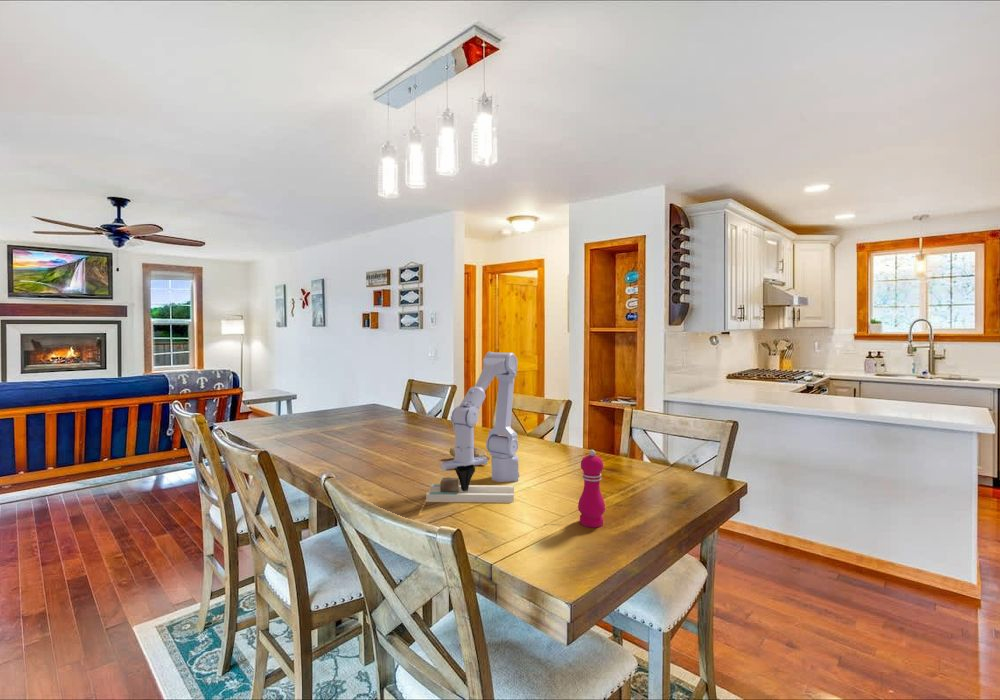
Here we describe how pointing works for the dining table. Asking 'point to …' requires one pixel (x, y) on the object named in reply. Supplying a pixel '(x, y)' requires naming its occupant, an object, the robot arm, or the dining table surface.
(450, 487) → the walnut block
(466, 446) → the robot arm
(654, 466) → the dining table surface
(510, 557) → the dining table surface
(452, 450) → the ginger root
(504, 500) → the chute
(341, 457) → the dining table surface
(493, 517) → the dining table surface
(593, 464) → the pepper mill
